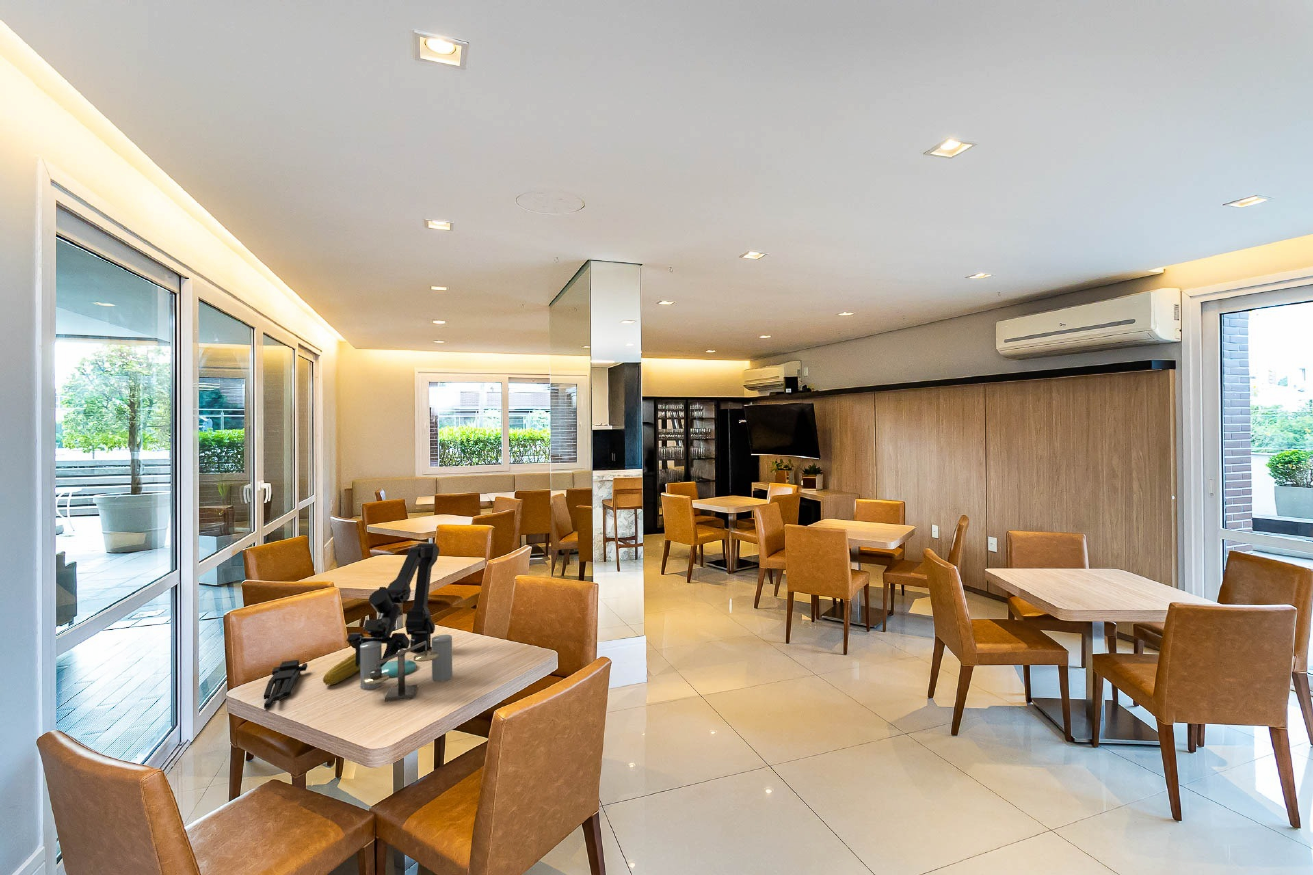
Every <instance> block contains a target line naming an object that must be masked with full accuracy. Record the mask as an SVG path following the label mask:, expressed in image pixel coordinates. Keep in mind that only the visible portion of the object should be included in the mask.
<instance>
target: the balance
mask: <svg viewBox="0 0 1313 875" xmlns="http://www.w3.org/2000/svg"><path fill="white" fill-rule="evenodd" d="M423 645H425V652H422V653H416V654H415V655H414V656H413V661H414V662H421V663H422V662H429V661H432V660H433V659H436V658H437V657H438V653H437V652H432V651H427V642H426V641H424V642H422V643H419V644H417V645H415V646H412V647H410V646H409V647H408V648H407V649H400V650H398V652H397V653H396V654H394V655H392V656H389V657H387V658H385V659H383V660H380V661H378V662H376V663H375V670H372V671H370V676H367V677H365V678H364V679H363V683H364V684H378V683H382V684H383V683H384V682H386V681H387V680H389V679H390V678H389V675H388V674H384V673H382V670H381V669H377V665H380V664H382V663H384V662H386V661H387V662H390V661H391V660H393V659H396V658H397V660H398V677H397V686H391V687H389V688H388V690H387V692H386V694H385V696H384V702H385V703H387V702H394V701H403V700H411V699H412V700H413V699H415V696H416V693H417V691H418V686H419V685H418V684H417V683H416V684H407V685H406V674H405V660H406V654H407V653H409V652H411V651H412V650H414V649H416V648H418V647H421V646H423ZM387 662H386V663H387Z"/></svg>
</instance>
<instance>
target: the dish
mask: <svg viewBox="0 0 1313 875" xmlns="http://www.w3.org/2000/svg"><path fill="white" fill-rule="evenodd" d="M416 669H417V666H416V661H415V660H410V659H405V675H408V674H410V673H412V672H414V671H415V670H416ZM382 673H384V674H388V675H389V679H390V678H391V679H392V678H398V659H397V660H392V661H391V660H390V661H387V662H386V663H385V664H384V665H383V667H382Z"/></svg>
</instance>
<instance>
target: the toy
mask: <svg viewBox="0 0 1313 875" xmlns="http://www.w3.org/2000/svg"><path fill="white" fill-rule="evenodd" d="M307 669H308V662H306V663H305V662H304V663H302V664H301V665H300V659H293V660H287V661H282V662H281V663H280V665H279V666H275V667H273V669H272V672H271V677H270V679H269V680H268V682H267V685H266V687H265V690H264V694H263V700H266V701H265V702H264V704H263V709H270V708H271V706H272V705H273V704H274V702H279V701H281V700H283V698H285V697H290V696H291V693H292V691H293V689H294V687H295V685H296V682H297V681H298V679H299V677H300V675H301V672H306V671H307ZM281 686H282V687H281ZM273 701H274V702H273Z"/></svg>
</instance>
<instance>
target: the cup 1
mask: <svg viewBox="0 0 1313 875" xmlns="http://www.w3.org/2000/svg"><path fill="white" fill-rule="evenodd" d="M382 646H383V643H382V642H380V641H370V642H366V643H363V644H361V645H360V670H359V671H360V672H359V673H360V674H359V676H360V678H359V679H360V680H359V681H360V685H359V687H360V689H361V690H373V689H376V688H379V687H381V686H382V684H383V682H382V683H378V684H364V683H363V679H364V678H365V677H367V676H370V671H372V670H375V663H376V662H378V661H380V660H382V657H383V654H382V653H383V652H382V649H383V648H382ZM377 669H381V670H382V667H381V666H380V665H377Z"/></svg>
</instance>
